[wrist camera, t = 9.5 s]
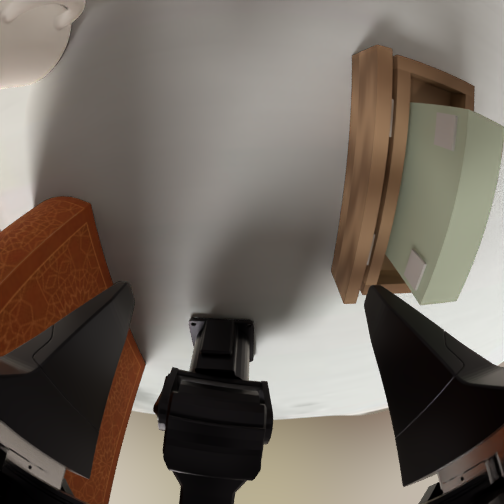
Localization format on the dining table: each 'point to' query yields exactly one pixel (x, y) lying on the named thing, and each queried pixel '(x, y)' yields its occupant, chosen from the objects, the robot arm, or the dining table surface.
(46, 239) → the book
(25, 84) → the mug
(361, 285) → the box
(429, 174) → the pale green box
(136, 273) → the dining table surface
